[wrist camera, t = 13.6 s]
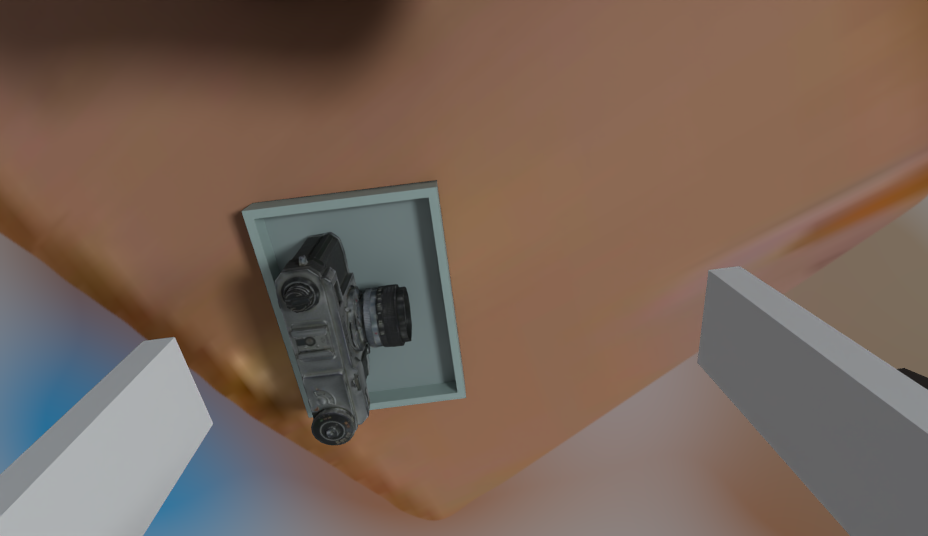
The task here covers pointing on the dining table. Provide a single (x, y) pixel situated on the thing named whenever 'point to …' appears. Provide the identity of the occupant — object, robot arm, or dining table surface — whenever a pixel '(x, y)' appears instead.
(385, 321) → the camera
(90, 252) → the dining table surface
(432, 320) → the storage tray
